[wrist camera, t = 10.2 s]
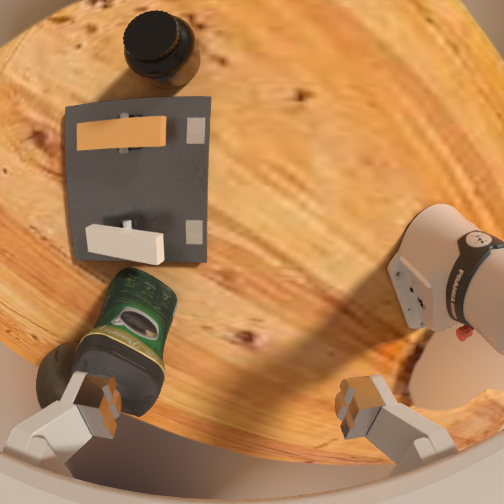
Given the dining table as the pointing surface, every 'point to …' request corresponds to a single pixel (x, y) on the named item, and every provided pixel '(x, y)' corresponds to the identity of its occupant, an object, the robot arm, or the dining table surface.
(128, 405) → the coffee jar
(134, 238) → the paddle
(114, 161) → the panel
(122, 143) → the paddle
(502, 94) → the dining table surface
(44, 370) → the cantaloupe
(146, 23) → the supplement bottle
